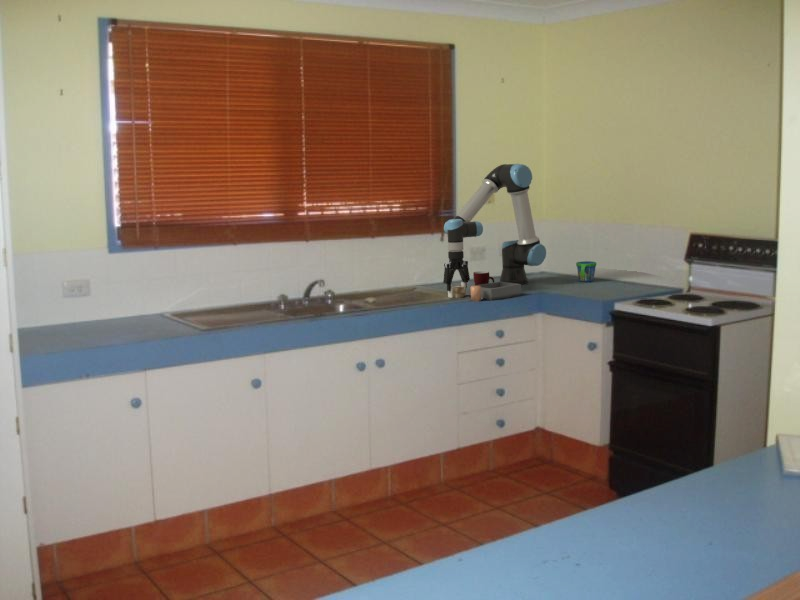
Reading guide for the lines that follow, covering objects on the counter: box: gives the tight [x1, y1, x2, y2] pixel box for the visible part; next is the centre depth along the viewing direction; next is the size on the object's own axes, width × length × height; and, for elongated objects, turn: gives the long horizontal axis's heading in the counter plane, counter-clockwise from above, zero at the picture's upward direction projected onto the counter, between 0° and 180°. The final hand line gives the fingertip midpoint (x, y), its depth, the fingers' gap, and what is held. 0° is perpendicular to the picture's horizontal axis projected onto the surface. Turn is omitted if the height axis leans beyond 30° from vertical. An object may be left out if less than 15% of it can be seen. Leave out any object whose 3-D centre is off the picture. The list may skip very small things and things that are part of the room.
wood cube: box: [452, 285, 465, 299], centre depth 446 cm, size 5×5×5 cm
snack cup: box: [575, 260, 597, 283], centre depth 479 cm, size 16×11×10 cm
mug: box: [473, 270, 495, 286], centre depth 459 cm, size 10×8×10 cm
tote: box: [469, 281, 522, 301], centre depth 442 cm, size 20×15×6 cm
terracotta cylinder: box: [470, 285, 482, 303], centre depth 432 cm, size 5×5×7 cm
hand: (457, 296), depth 446 cm, fingers open, 8 cm apart
